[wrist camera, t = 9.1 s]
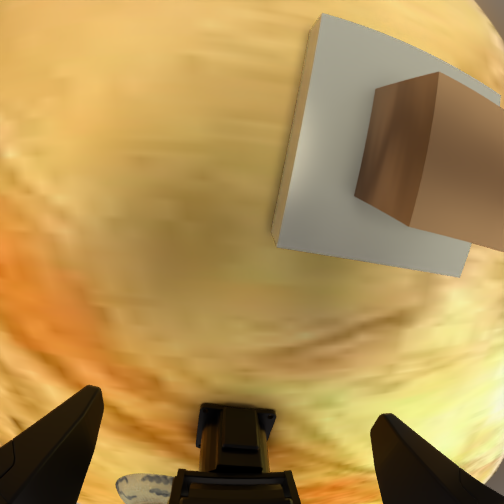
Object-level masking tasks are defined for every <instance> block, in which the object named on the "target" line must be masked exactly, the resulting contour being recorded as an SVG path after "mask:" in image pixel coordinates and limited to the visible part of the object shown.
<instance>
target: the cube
mask: <svg viewBox="0 0 504 504" xmlns="http://www.w3.org/2000/svg"><path fill="white" fill-rule="evenodd" d="M354 196H355V197H357V198H358V199H360V200H362V201H364V202H366V203H368V204H369V205H371V206H373V207H375V208H377V209H379V210H380V211H382V212H384V213H386V214H387V215H389V216H391V217H393V218H394V219H396V220H398V221H400V222H401V223H403V224H405V225H406V226H408V227H411V228H415V229H419V230H423V231H427V232H431V233H435V234H439V235H443V236H447V237H451V238H455V239H458V240H462V241H466V242H469V243H473V244H477V245H480V246H484V247H487V248H491V249H494V250H498V251H501V252H504V109H502V108H501V107H499V106H498V105H496V104H495V103H493V102H492V101H490V100H489V99H487V98H485V97H484V96H482V95H481V94H479V93H477V92H476V91H474V90H472V89H470V88H469V87H467V86H465V85H464V84H462V83H460V82H458V81H456V80H454V79H453V78H451V77H449V76H447V75H445V74H443V73H441V72H435V73H431V74H427V75H423V76H419V77H415V78H411V79H408V80H404V81H400V82H397V83H393V84H390V85H386V86H383V87H380V88H376V89H375V94H374V100H373V106H372V112H371V117H370V123H369V128H368V133H367V138H366V143H365V148H364V153H363V158H362V163H361V167H360V172H359V176H358V181H357V185H356V189H355V194H354Z"/></svg>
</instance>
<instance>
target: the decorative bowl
mask: <svg viewBox="0 0 504 504" xmlns="http://www.w3.org/2000/svg"><path fill="white" fill-rule="evenodd" d="M173 478H175V477H171V476H165V475H157V474H130V475H126V476H123V477H121V478H119V479H118V480H117V482H116V489H117V491H118V494H119V496H120V497H121V499H122V500H123V501H124V503H125V504H167V502H168V500H169V497H170V494H171V488H172V480H173Z"/></svg>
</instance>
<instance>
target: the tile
mask: <svg viewBox="0 0 504 504" xmlns="http://www.w3.org/2000/svg"><path fill="white" fill-rule="evenodd" d="M435 72H441V73H443V74H445V75H447V76H449V77H451V78H453V79H454V80H456V81H458V82H460V83H462V84H464V85H465V86H467V87H469V88H470V89H472V90H474V91H476V92H477V93H479V94H481V95H482V96H484V97H485V98H487V99H489V100H490V101H492V102H493V103H495V104H496V105H498V106H499V107H500V98H501V95H499V94H498V93H496V92H495V91H493V90H492V89H490V88H489V87H487V86H486V85H484V84H483V83H481V82H479V81H478V80H476V79H475V78H473V77H471V76H470V75H468V74H466V73H464V72H463V71H461V70H459V69H457V68H456V67H454V66H452V65H450V64H448V63H446V62H445V61H443V60H441V59H439V58H437V57H435V56H433V55H431V54H429V53H427V52H425V51H423V50H421V49H419V48H416V47H414V46H412V45H410V44H408V43H405V42H403V41H401V40H398V39H396V38H394V37H391V36H389V35H386V34H384V33H381V32H378V31H376V30H373V29H370V28H368V27H365V26H362V25H359V24H356V23H353V22H350V21H347V20H344V19H341V18H338V17H334V16H331V15H328V14H324V13H322V14H321V15H320V17H319V18H318V19H317V21H316V22H315V23H314V25H313V26H312V28H311V29H310V32H309V38H308V43H307V49H306V54H305V60H304V65H303V70H302V76H301V81H300V86H299V92H298V97H297V102H296V107H295V113H294V118H293V123H292V128H291V133H290V138H289V144H288V149H287V154H286V159H285V164H284V169H283V174H282V179H281V184H280V189H279V194H278V199H277V204H276V209H275V214H274V219H273V223H272V228H271V233H272V236H273V239H274V241H275V244H276V247H278V248H284V249H290V250H297V251H303V252H309V253H315V254H321V255H327V256H334V257H340V258H346V259H352V260H358V261H364V262H370V263H376V264H382V265H388V266H394V267H400V268H406V269H412V270H418V271H424V272H430V273H436V274H441V275H447V276H453V277H459V278H460V276H461V273H462V270H463V267H464V265H465V262H466V259H467V256H468V253H469V250H470V247H471V244H472V243H469V242H466V241H462V240H458V239H455V238H451V237H447V236H443V235H439V234H435V233H431V232H427V231H423V230H419V229H415V228H411V227H408V226H406V225H405V224H403V223H401V222H400V221H398V220H396V219H394V218H393V217H391V216H389V215H387V214H386V213H384V212H382V211H380V210H379V209H377V208H375V207H373V206H371V205H369V204H368V203H366V202H364V201H362V200H360V199H358V198H357V197H355V196H354V194H355V189H356V185H357V181H358V176H359V172H360V167H361V163H362V158H363V153H364V148H365V143H366V138H367V133H368V128H369V123H370V117H371V112H372V106H373V100H374V94H375V89H376V88H380V87H383V86H386V85H390V84H393V83H397V82H400V81H404V80H408V79H411V78H415V77H419V76H423V75H427V74H431V73H435Z"/></svg>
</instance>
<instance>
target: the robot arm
mask: <svg viewBox="0 0 504 504" xmlns="http://www.w3.org/2000/svg"><path fill="white" fill-rule="evenodd" d="M206 409H207V410H206ZM103 411H104V403H103V397H102V391H101V389H100V388H99V387H96V386H92V385H87V386H85V387H84V388H83V389H81V390H80V391H79V392H77V393H76V394H74V395H73V396H72V397H70V398H69V399H68V400H66V401H65V402H63V403H62V404H61V405H59V406H58V407H57V408H55V409H54V410H52V411H51V412H50V413H48V414H47V415H45V416H44V417H43V418H41V419H40V420H38V421H37V422H36V423H34V424H33V425H32V426H30V427H29V428H27V429H26V430H25V431H23V432H22V433H20V434H19V435H18V436H16V437H15V438H13V440H10V441H9V442H8V443H6V444H5V445H3V446H2V447H0V504H76V503H77V500H78V497H79V494H80V491H81V488H82V485H83V482H84V479H85V476H86V473H87V470H88V467H89V464H90V462H91V459H92V456H93V453H94V450H95V445H96V441H97V437H98V432H99V428H100V424H101V420H102V416H103ZM269 415H271V416H269ZM275 419H276V412H275V411H273V410H261V409H249V408H238V407H228V406H219V405H211V404H202V405H201V406H200V413H199V421H198V430H197V438H196V447H198V448H201V449H200V461H199V471H188V470H186V469H178V474H177V476H175V478H173V480H172V488H171V494H170V497H169V500H168V502H167V504H301V502H300V498H299V495H298V492H297V488H296V485H295V482H294V478H293V475H292V472H291V470H288V471H284V472H270V469H269V460H268V450H267V440H268V438H269V435H270V432H271V430H272V427H273V424H274V422H275ZM370 437H371V444H372V451H373V458H374V466H375V471H376V476H377V480H378V484H379V488H380V493H381V497H382V501H383V504H504V496H502V495H501V494H499V493H497V492H496V491H494V490H492V489H490V488H489V487H487V486H486V485H484V484H483V483H481V482H479V481H478V480H476V479H475V478H473V477H472V476H471V475H469V474H468V473H467V472H465V471H464V470H463V469H461V468H459V466H457V465H456V464H455V463H454V462H452V461H451V460H450V459H449V458H447V457H446V456H445V455H443V454H442V453H441V452H440V451H438V450H437V449H436V448H435V447H433V446H432V445H431V444H430V443H428V442H427V441H426V440H425V439H423V438H422V437H421V436H420V435H418V434H417V433H416V432H415V431H413V430H412V429H411V428H410V427H408V426H407V425H406V424H405V423H403V422H402V421H401V420H400V419H399V418H397V417H396V416H395V415H394V414H392V413H386V414H381V415H380V416H379V417H378V419H377V420H376V422H375V424H374V425H373V427H372V428H371V432H370Z"/></svg>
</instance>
